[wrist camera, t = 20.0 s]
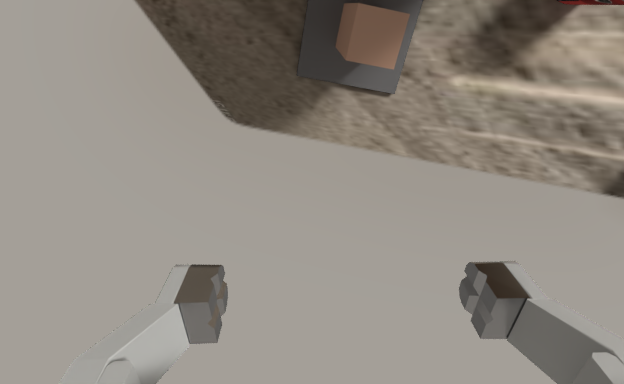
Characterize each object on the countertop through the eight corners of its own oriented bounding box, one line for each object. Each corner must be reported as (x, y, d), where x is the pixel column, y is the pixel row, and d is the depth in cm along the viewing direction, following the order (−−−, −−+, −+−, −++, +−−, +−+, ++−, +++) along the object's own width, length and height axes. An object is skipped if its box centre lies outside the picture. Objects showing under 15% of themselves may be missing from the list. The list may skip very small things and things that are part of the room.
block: (372, 53, 43) (393, 69, 33) (335, 46, 42) (345, 60, 32) (382, 11, 41) (409, 14, 30) (344, 3, 40) (358, 2, 30)
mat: (393, 92, 46) (394, 93, 46) (296, 74, 45) (296, 75, 44) (427, -23, 40) (430, -23, 39) (315, -49, 38) (315, -50, 37)
